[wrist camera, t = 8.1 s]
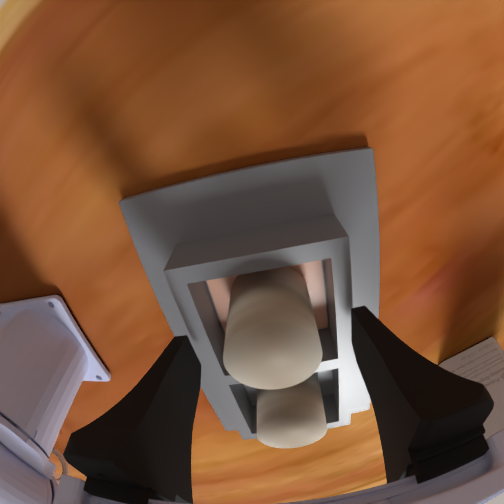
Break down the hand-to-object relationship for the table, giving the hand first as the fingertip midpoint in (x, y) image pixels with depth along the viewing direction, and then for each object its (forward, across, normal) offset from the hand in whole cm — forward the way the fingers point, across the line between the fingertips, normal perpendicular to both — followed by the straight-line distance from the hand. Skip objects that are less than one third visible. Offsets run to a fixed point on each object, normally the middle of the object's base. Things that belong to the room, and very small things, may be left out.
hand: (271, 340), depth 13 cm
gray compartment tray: (+4, 0, +3) cm, 5 cm away
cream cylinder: (+3, 0, 0) cm, 3 cm away
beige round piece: (+3, 0, +7) cm, 8 cm away
